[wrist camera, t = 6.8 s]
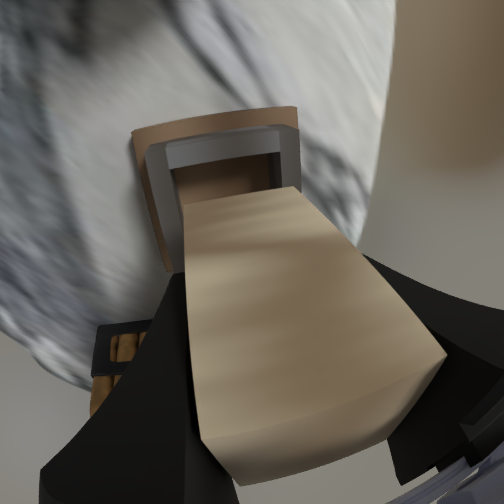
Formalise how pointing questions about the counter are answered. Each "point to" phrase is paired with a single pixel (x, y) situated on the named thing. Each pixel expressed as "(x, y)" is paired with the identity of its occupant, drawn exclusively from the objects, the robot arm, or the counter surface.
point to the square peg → (293, 337)
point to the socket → (213, 165)
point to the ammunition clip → (113, 356)
